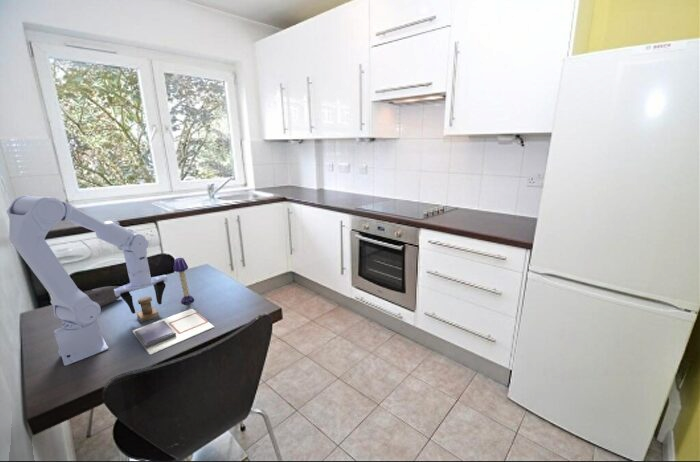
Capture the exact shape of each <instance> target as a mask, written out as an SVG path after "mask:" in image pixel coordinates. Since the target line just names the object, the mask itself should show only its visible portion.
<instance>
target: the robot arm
mask: <svg viewBox="0 0 700 462" xmlns="http://www.w3.org/2000/svg"><path fill="white" fill-rule="evenodd" d="M6 213H7V216H8V218H9V233H8V234H9V236H8V237H9V241H10V243H11V244H12V246H13V247H14V248H15V250H16V251H17V252H18V254H19V255H20V256H21V257H22V259H23V260H24V261H25V264H27V265H28V267H29V268H30V270H31V271H32V272H33V274H34V275H35V276H36V277H37V279H38V280H39V283H41V284H42V286H43V288H45V289H46V291H47V292H48V294H49V295H50V296H51V297H52V299H51V300H50V302H49V303H50V304H51V305H52V308H53V315H54V317H55V318H56V319H58V320H61V322H62V326H61V327H59V328H57V329H54V331H53V333H54V336H55V339H56V343H57V347H58V350H57V352H58V355H59V357H61V360H62V363H63V365H64V366H69V365H71V364H73V363H76V362H79V361H82V360H84V359H86V358H90V357H92V356H94V355H98V354H99V353H102V352H105V351H107V350H109V346H108V345H107V343H106V341H105V339H104V337H103V335H102V331H101V327H100V323H99V320H98V318H99V317H100V315H101V312H102V311H101V307H100V305H99V304H98V303H96V302H94V301H92V300H91V299H90V298H89V297H88V296H87V295H86V294H85V293H83V292H84V291H82V290H81V289H80V288H78V286H77V285H76V283H75V282H74V280H73V279H72V278H71V276H70V274H69V273H68V271H67V270H66V269H65V268H64V266H63V264H62V263H61V262H60V260H59V259H58V257H57V256H56V254H55V253H54V251H53V250H52V248H51V247H50V245H49V244H48V242H47V241H46V237H47V235H48V233H49V232H50V231H51V230H52V229H53V228H54V227H55V226H56V225H58V223H60V222H61V221H63V222H70V223H72V224H74V225H77V226H80V227H82V228H85V229H87V230H90V231H91V232H94V233H95V236H96V238H98V239H99V240H101V241H104V242H106V243H108V244H111V245H113V246H115V247H117V249H118V250H120V251H122V252H123V256H124V260H125V264H126V270H127V274H128V278H129V283H127V284H124V285H122V286H118V287H119V288H116V289H114V293H115V295H116V297H117V296H121V297H120V298H121V299H122V300H123V301H124V302H125V303H126V304H127V306H128V307H129V310H130V312H131V313H132V314H136V309H135V306H134V303H133V295H132V294H131V292H134V291H138V290H141V289H147V288H149V287H151V286H153V288H154V292H155V297H156V298H155V299H156V303H157V304H158V305H159V306H160V305H162V304H163V302H162V299H163V294H164V292H165V289H166V286H167V285H166V282H168V276H167V275H166V274H162V275H157V276H152V277H151V271H150V266H149V261H148V257H147V254H148V251H147V250H148V249H147V248H148V247H149V240H147V238H146V237H145V236H144V235H143V234H141V233H140V234H139V233H134V230H133V229H131V228H125V227H124V226H121V225H120V222H119V221H116V220H112V221H111V220H106V221H102V220H100V219H98V218H97V217H94V216H93V215H91V214H88V213H87V212H85V211H83V210H81V209H80V208H77V207H76V206H74V205H72V204H70V203H69V202H66V201H62V200H60V199H59V198H56V197H53V196H35V195H29V194H28V195H26V194H25V195H21V196H19V197H17V198H15V199H14V200H13V201H12V202H11V203H10V206H9V207H8V209H7V210H6Z"/></svg>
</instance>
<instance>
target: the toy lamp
mask: <svg viewBox="0 0 700 462" xmlns="http://www.w3.org/2000/svg"><path fill="white" fill-rule="evenodd" d="M188 269H189V266H188V264H187V262H186V260H185V258H184V257H178V258H175V259H174V261H173V271H174V272H175V273H178V274H179V277H180V282H181V283H180V284H181V286H182V287H181V288H182V293H183V296H182V298H181V300H180V302H181V304H184V305H186V304H191V303H193V302H194V301H195V299H194V296H193V295H190V293H189V288H188V283H187V278H186V273H185V272H186V271H187V270H188Z"/></svg>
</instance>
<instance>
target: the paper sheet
mask: <svg viewBox="0 0 700 462" xmlns="http://www.w3.org/2000/svg"><path fill="white" fill-rule="evenodd" d="M162 321H165V322H166V323H167V324H168V326H169V327H170V328H171V329H172V330H173V331H174V332H175V333H176V337H173V338H171V339H168V340H166V341H164V342H161V343H159V344H156V345H154V346H152V347H149V348H147V349H146V348H145V347H144V346H143V344H142V343H141V342H140V340H139V339H138V338H137V336H136V335H135V331H137V330H140V329H143V328H145V327H148V326H151V325H154V324H156V323H159V322H162ZM214 328H215V326H214V325H213V324H212V323H211V322H210V321H208V319H206V318H205V317H203V316H202V315H201V314H200V313H199V312H198V311H196V310H195V309H193V308H189V309H187V310H184V311H181V312H179V313H175V314H173V315H170V316H169V317H165V318H163V319H160V320H157V321H155V322H152V323H149V324H147V325H143V326H141V327H138V328H135V329H134V330H132V331H131V332H132V333H133V334H134V336H135V337H136V338H137V339H138V341H139V342H140V343H141V345H142V346H143V348H144V349H145V350H146V352H147V353H148V355H149V356H151V355H153V354H156V353H159V352H160V351H162V350H165V349H167V348H170V347H172V346H174V345H177V344H179V343H181V342H184V341H185V340H188V339H191V338H193V337H195V336H198V335H200V334H202V333H204V332H207V331H209V330H212V329H214Z"/></svg>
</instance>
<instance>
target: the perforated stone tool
mask: <svg viewBox="0 0 700 462" xmlns="http://www.w3.org/2000/svg"><path fill="white" fill-rule="evenodd" d="M119 287H120V286H116V285H114V286H113V285H112V286H111V285H109V286H102V287H97V288H94V289H90V290H85V291H82V292H83V293H85V294H86V295H87V296H88V297H89V298H90V299H91V300H92V301H94V302H96V303H98V304H99V305H100V308H101V307H104V306H107V305H109V304H112V303H113V302H115V301H117V300H118V299H120V298H122V297H121V296H117V297H116V295H115V293H114V289H116V288H119Z"/></svg>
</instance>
